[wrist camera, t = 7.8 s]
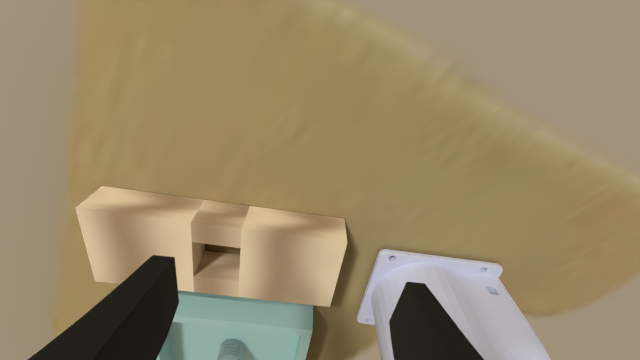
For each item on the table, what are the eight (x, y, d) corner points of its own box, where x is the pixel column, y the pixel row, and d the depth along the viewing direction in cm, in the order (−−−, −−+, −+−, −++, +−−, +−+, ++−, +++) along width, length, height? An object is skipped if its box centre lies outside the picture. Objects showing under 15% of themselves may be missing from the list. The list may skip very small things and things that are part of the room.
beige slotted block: (344, 218, 21) (347, 242, 19) (328, 279, 24) (329, 306, 22) (102, 186, 20) (75, 207, 18) (116, 254, 23) (95, 281, 21)
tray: (313, 302, 25) (312, 330, 23) (294, 383, 31) (292, 411, 29) (158, 285, 24) (142, 312, 22) (169, 372, 30) (158, 401, 28)
